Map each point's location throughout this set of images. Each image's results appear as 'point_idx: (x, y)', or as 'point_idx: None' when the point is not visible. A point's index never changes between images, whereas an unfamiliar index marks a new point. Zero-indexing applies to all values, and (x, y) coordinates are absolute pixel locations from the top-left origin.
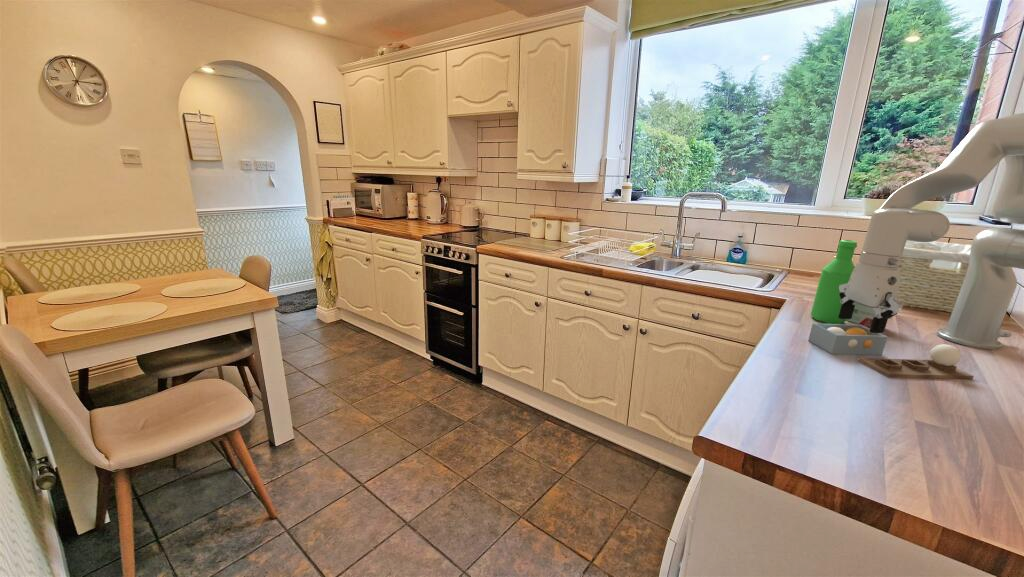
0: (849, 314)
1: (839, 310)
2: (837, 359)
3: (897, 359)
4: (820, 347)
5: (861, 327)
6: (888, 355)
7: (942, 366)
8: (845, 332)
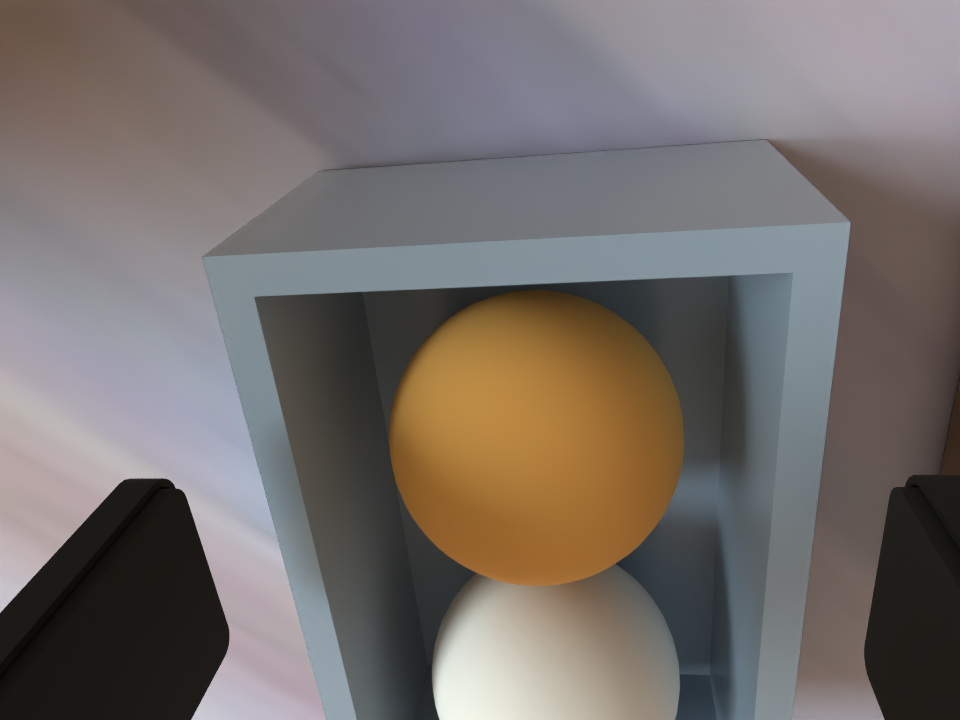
0: (150, 594)
1: None
2: (859, 708)
3: None
4: None
5: (304, 284)
6: (777, 35)
7: None
8: (615, 696)
